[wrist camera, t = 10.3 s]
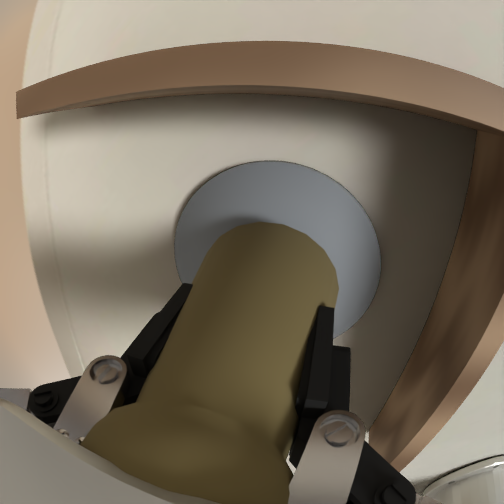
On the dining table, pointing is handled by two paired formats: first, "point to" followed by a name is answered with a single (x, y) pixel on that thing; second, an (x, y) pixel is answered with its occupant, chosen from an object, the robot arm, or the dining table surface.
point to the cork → (228, 373)
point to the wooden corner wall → (375, 93)
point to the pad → (290, 214)
